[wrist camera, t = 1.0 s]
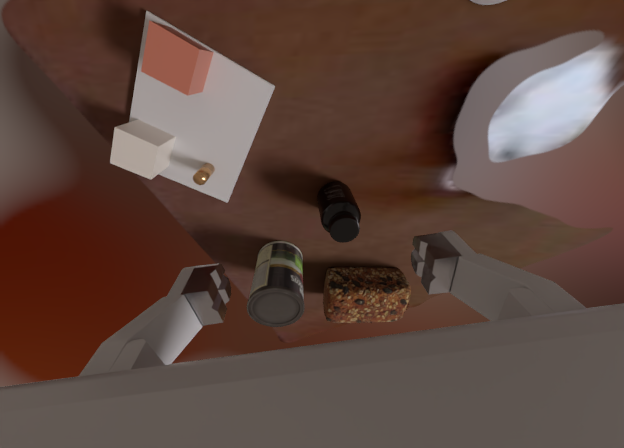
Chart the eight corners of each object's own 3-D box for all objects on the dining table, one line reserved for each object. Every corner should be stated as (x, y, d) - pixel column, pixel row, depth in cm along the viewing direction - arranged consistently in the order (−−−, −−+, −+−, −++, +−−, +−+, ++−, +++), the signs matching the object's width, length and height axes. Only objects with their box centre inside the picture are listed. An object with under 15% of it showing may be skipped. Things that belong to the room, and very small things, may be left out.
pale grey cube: (138, 119, 39) (114, 127, 33) (175, 136, 40) (158, 146, 35) (132, 151, 41) (109, 163, 36) (168, 166, 43) (151, 179, 38)
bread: (321, 294, 64) (324, 329, 55) (325, 263, 58) (331, 296, 50) (390, 296, 65) (404, 329, 57) (402, 265, 60) (419, 297, 51)
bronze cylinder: (204, 160, 43) (194, 171, 38) (216, 166, 43) (207, 176, 39) (201, 170, 43) (191, 181, 39) (212, 175, 44) (203, 187, 40)
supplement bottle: (312, 207, 50) (316, 242, 40) (323, 176, 46) (331, 206, 36) (343, 215, 51) (355, 251, 41) (357, 186, 48) (373, 217, 38)
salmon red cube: (171, 27, 33) (149, 20, 28) (213, 52, 35) (199, 49, 30) (163, 71, 35) (140, 71, 30) (202, 92, 37) (187, 95, 32)
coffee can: (295, 235, 53) (295, 283, 41) (307, 269, 59) (310, 320, 47) (250, 246, 54) (237, 296, 42) (266, 279, 59) (258, 331, 48)
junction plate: (150, 12, 33) (146, 10, 32) (275, 86, 38) (274, 86, 37) (126, 157, 43) (123, 159, 42) (228, 200, 48) (227, 202, 47)
